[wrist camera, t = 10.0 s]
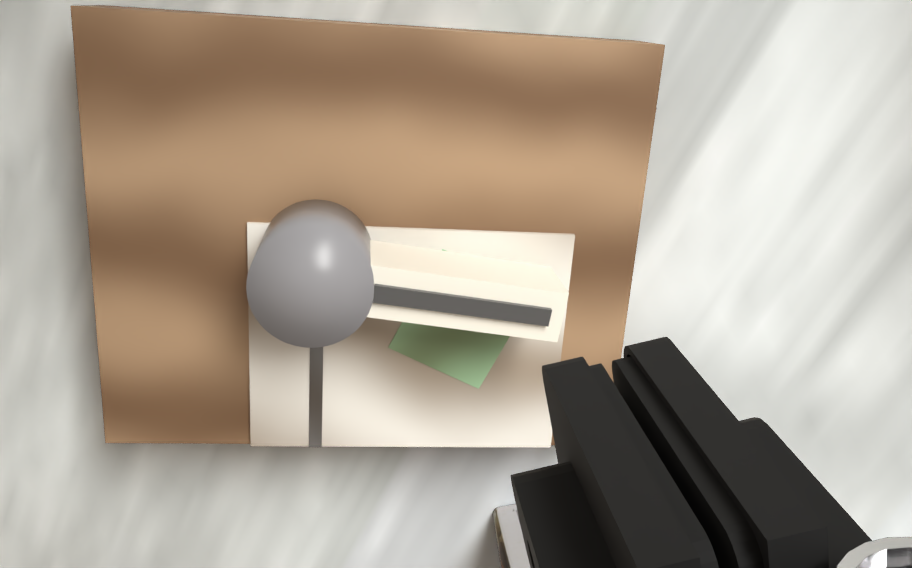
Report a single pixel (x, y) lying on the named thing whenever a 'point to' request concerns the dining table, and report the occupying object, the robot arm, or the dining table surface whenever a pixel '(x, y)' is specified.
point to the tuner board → (365, 194)
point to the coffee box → (510, 538)
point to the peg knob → (387, 283)
